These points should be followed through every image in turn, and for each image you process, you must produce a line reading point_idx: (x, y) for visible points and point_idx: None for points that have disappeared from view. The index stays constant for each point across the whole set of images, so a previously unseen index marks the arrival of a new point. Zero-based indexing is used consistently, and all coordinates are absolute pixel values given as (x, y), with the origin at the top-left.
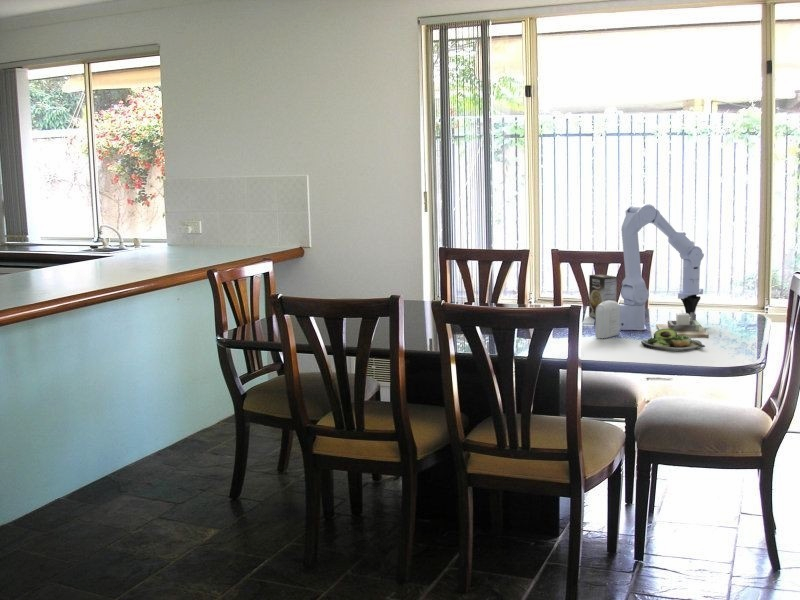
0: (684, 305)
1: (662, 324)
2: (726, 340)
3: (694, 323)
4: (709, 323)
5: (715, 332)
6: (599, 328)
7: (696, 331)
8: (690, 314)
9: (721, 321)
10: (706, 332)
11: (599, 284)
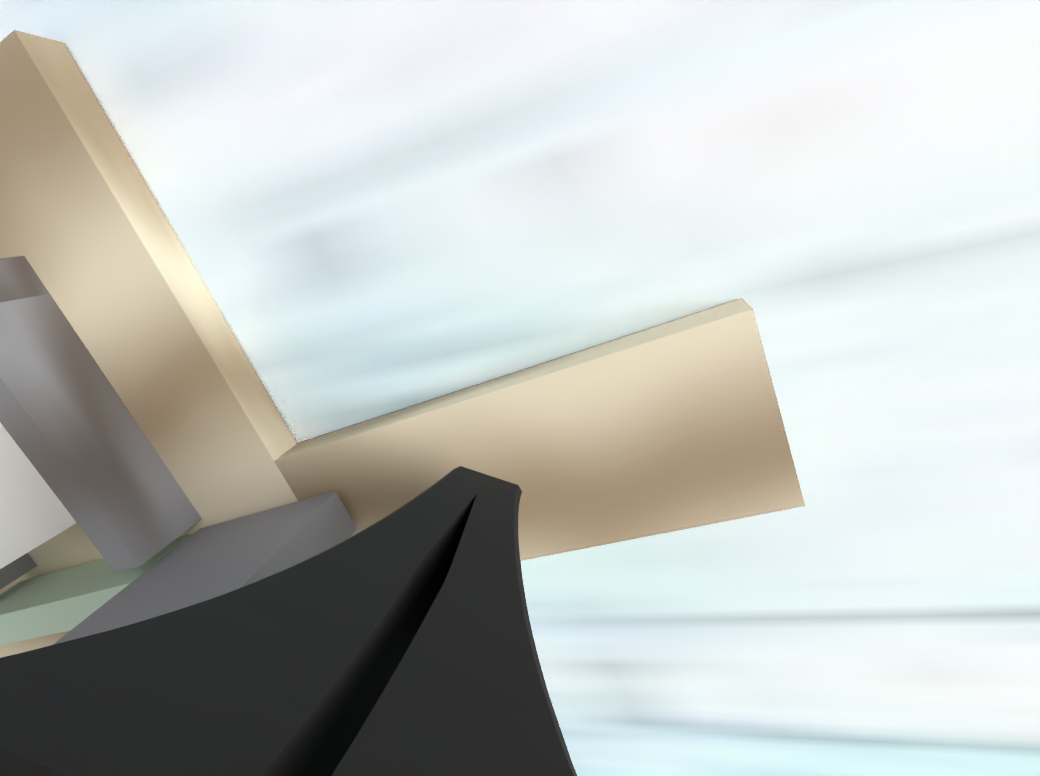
0: (285, 578)
1: (63, 140)
2: None
3: (38, 600)
4: (667, 642)
5: None
6: None
7: (21, 579)
8: (221, 587)
9: (866, 752)
10: None
11: None
